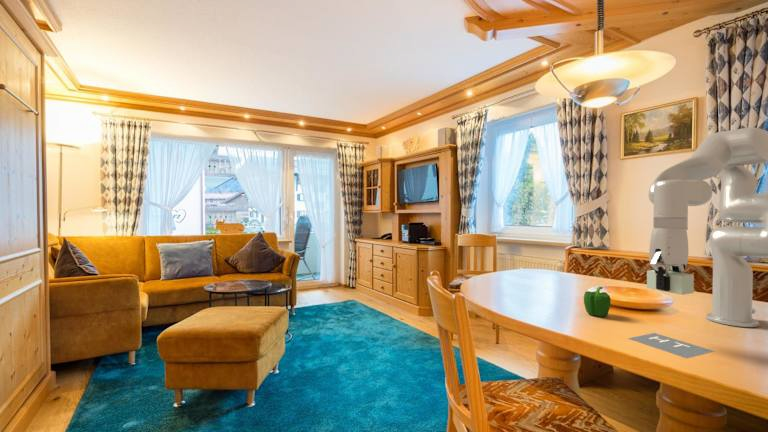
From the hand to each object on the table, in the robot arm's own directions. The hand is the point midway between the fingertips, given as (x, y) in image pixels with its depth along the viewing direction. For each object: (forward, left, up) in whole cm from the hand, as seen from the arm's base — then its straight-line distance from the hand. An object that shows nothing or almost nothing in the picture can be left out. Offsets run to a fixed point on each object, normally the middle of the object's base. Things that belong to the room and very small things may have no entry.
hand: (669, 288), depth 101 cm
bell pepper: (-5, -26, -16) cm, 31 cm away
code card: (+2, +1, -15) cm, 15 cm away
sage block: (0, 0, -1) cm, 1 cm away
